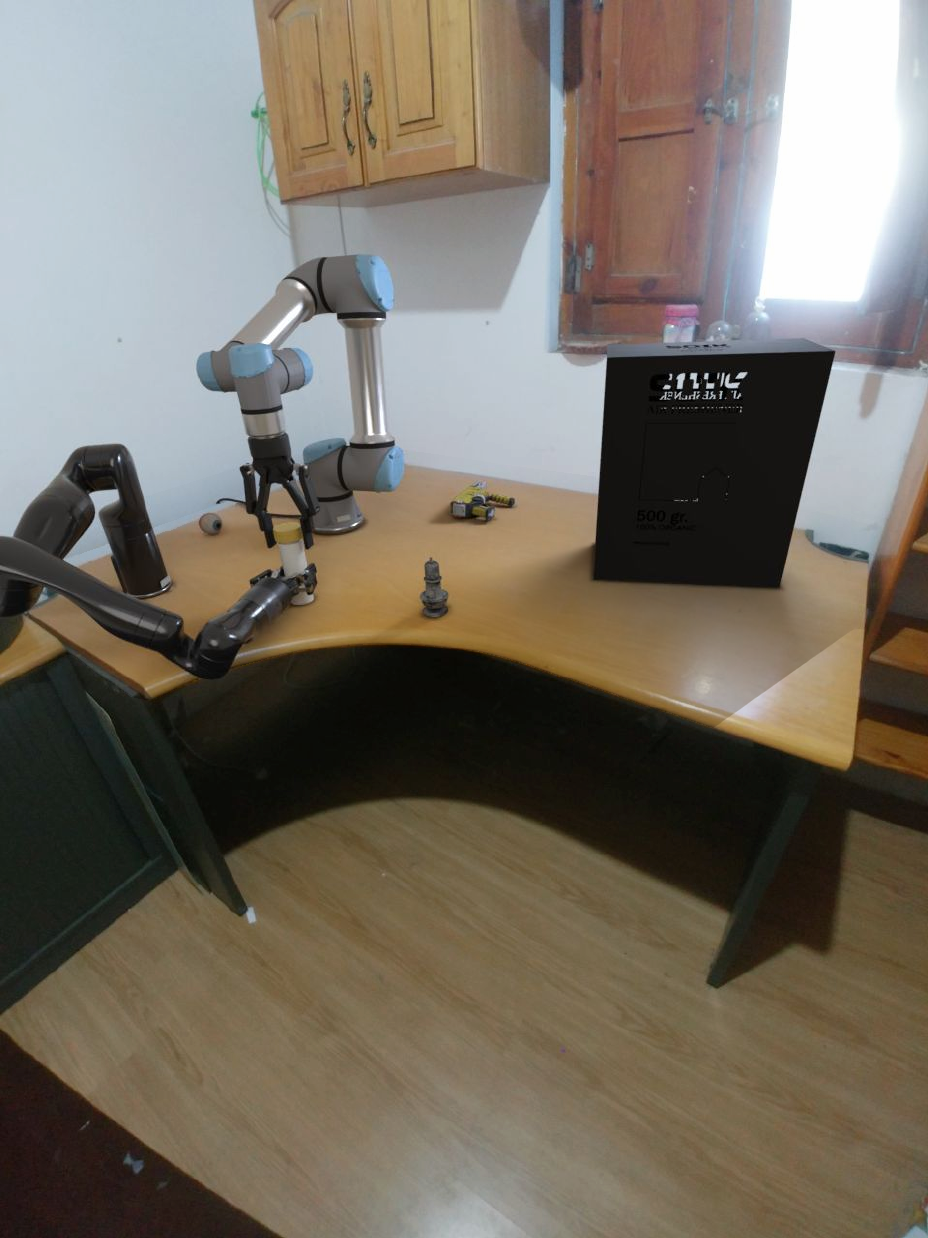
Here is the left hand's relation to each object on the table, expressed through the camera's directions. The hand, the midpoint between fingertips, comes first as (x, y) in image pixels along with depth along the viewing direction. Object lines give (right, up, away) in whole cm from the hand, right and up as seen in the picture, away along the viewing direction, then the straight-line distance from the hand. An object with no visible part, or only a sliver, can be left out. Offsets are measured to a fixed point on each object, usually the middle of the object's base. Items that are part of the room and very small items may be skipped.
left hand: (301, 566), depth 130 cm
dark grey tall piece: (+29, -10, -6) cm, 31 cm away
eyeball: (-35, +12, +38) cm, 53 cm away
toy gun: (+42, +21, +46) cm, 65 cm away
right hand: (-1, +4, -5) cm, 6 cm away
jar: (0, -7, +1) cm, 7 cm away
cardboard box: (+84, +1, +7) cm, 84 cm away
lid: (-1, +7, -7) cm, 10 cm away
